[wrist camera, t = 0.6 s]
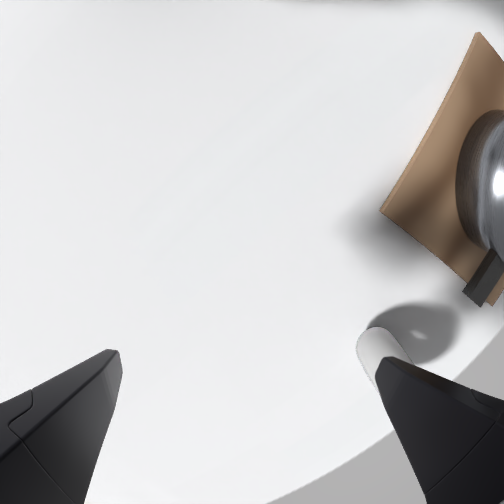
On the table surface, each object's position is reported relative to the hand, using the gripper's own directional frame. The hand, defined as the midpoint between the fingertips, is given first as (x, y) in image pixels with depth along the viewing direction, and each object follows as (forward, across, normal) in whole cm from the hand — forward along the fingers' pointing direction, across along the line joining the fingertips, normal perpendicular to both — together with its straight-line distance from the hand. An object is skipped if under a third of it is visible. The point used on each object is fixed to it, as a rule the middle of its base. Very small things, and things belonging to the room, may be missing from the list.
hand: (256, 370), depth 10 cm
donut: (+14, +14, -10) cm, 22 cm away
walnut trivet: (+14, +24, +7) cm, 28 cm away
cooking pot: (+14, +24, +7) cm, 28 cm away
